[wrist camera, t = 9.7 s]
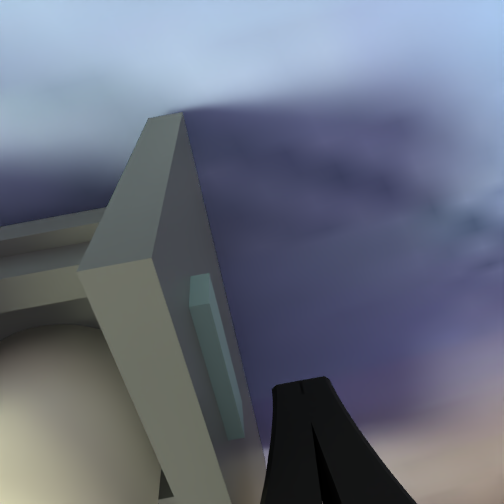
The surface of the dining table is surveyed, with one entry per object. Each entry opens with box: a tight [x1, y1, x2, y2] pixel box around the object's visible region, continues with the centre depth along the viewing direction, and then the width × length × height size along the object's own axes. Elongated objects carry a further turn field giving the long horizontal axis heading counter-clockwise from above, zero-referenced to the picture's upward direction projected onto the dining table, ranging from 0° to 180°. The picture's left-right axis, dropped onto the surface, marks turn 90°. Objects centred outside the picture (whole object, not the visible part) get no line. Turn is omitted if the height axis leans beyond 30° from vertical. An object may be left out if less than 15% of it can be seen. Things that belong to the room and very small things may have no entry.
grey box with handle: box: [0, 112, 266, 504], centre depth 11 cm, size 13×10×7 cm
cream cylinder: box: [0, 324, 161, 504], centre depth 11 cm, size 5×5×4 cm
